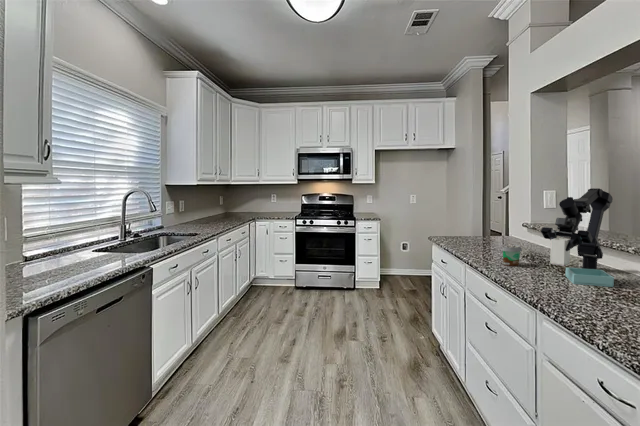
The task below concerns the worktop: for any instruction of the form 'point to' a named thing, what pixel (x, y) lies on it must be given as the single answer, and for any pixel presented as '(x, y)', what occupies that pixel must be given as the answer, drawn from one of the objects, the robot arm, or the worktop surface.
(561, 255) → the white hollow square box
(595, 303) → the worktop surface
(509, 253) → the food container
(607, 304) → the worktop surface
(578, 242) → the robot arm
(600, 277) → the crate
